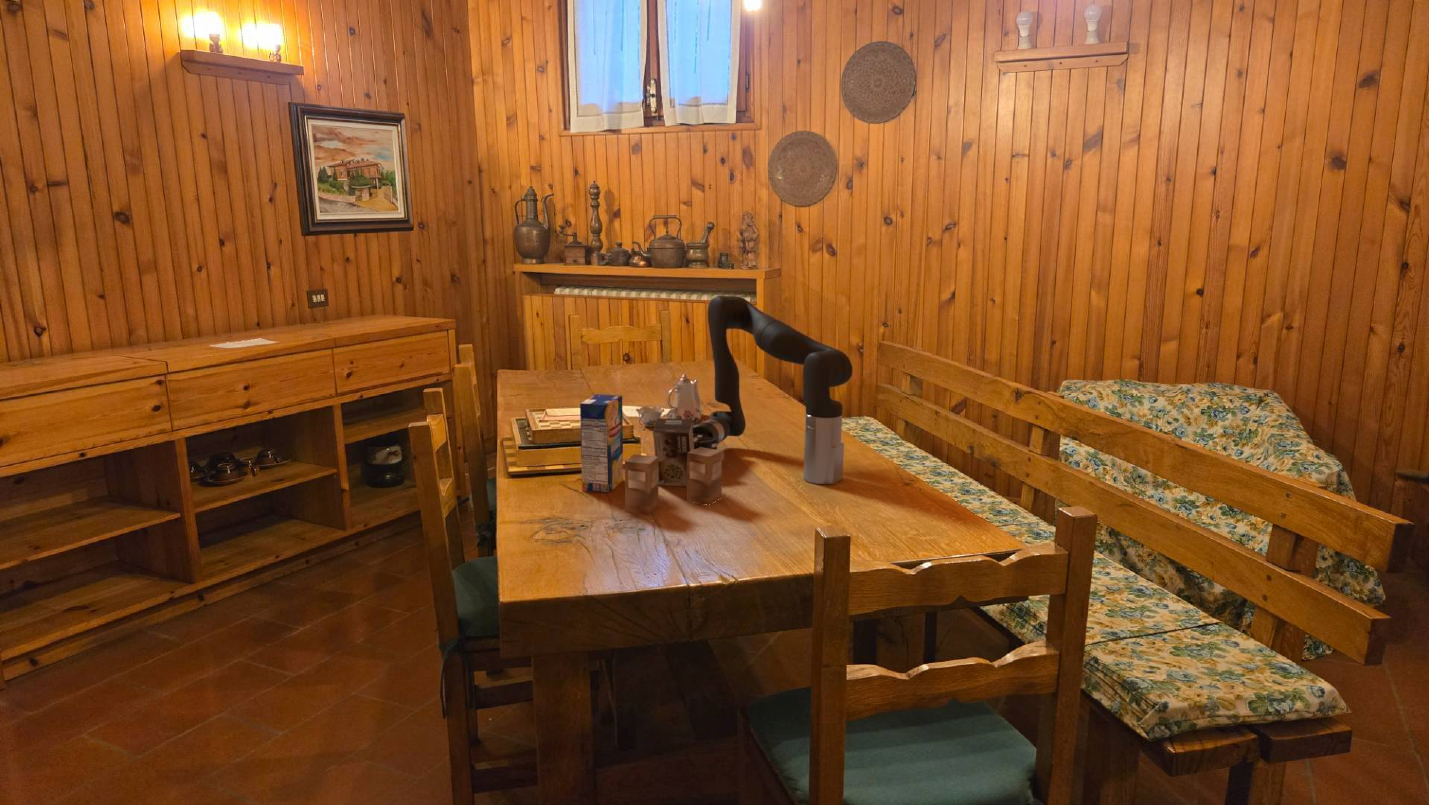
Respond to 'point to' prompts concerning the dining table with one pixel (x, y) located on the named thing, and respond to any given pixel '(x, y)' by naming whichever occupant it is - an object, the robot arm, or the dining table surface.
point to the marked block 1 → (641, 484)
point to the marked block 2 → (704, 475)
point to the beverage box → (601, 443)
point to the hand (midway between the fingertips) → (682, 450)
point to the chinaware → (676, 404)
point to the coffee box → (673, 449)
